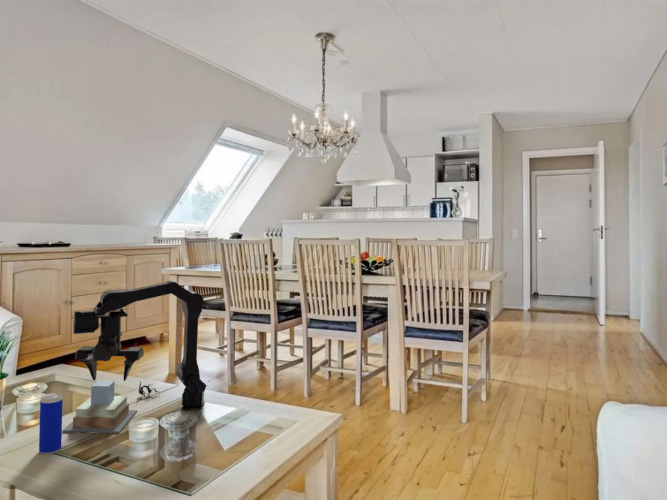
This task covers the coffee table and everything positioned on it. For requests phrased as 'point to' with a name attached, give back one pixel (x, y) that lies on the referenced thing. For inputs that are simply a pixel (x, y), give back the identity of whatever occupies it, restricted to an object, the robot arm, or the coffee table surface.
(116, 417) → the plinth
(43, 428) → the beverage can
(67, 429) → the grey square plate
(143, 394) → the creature
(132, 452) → the coffee table surface
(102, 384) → the top block
